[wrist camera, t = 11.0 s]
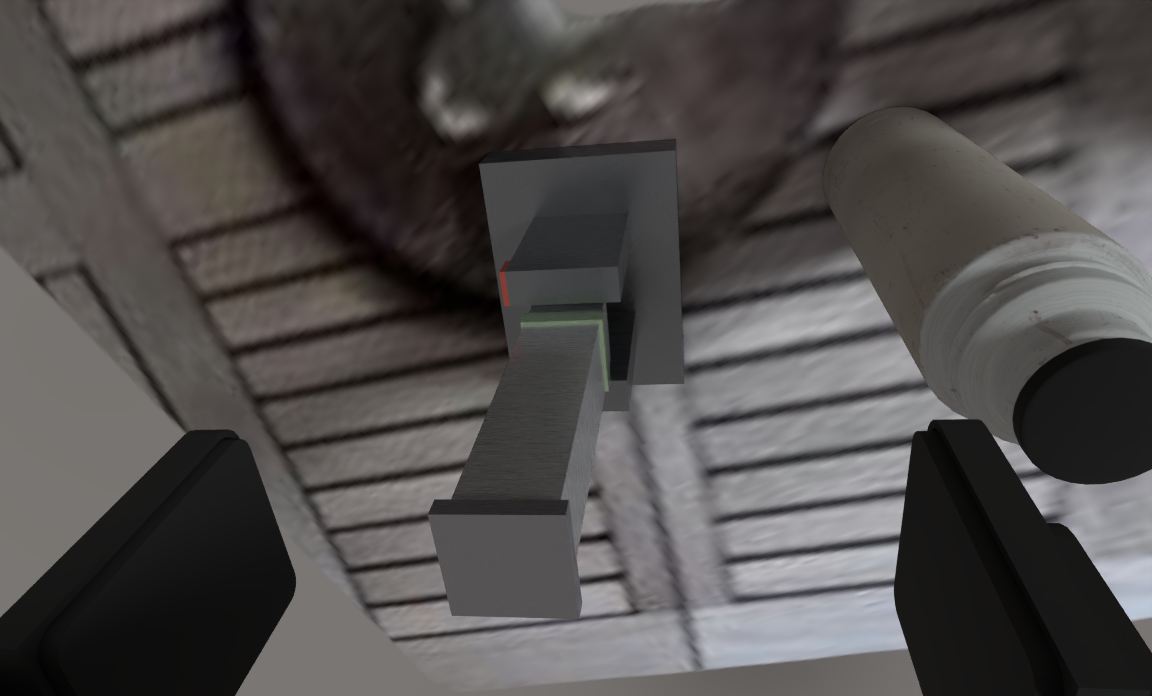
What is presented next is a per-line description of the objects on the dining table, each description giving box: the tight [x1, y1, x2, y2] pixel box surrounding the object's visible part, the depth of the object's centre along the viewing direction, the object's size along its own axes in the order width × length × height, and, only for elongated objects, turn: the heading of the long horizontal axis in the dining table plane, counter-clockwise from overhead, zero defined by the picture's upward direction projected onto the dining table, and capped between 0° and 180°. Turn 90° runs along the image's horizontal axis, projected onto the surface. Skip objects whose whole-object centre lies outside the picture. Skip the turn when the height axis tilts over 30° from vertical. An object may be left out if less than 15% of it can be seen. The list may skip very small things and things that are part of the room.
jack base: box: [479, 139, 684, 411], centre depth 47 cm, size 16×12×12 cm
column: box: [428, 303, 611, 619], centre depth 35 cm, size 5×5×19 cm
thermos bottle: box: [823, 107, 1152, 484], centre depth 35 cm, size 8×8×28 cm
